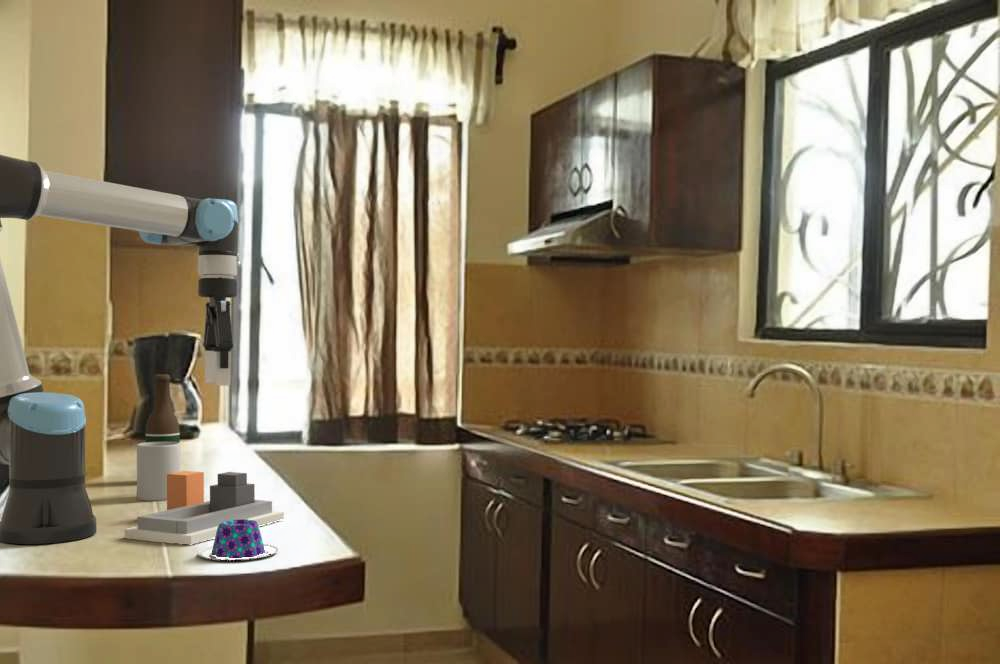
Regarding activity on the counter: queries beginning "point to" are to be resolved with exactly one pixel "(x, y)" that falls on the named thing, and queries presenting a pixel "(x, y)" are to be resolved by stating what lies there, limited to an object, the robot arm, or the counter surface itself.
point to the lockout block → (184, 489)
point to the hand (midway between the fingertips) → (217, 384)
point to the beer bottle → (162, 414)
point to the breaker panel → (192, 535)
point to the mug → (156, 468)
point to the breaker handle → (231, 491)
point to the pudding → (238, 540)
